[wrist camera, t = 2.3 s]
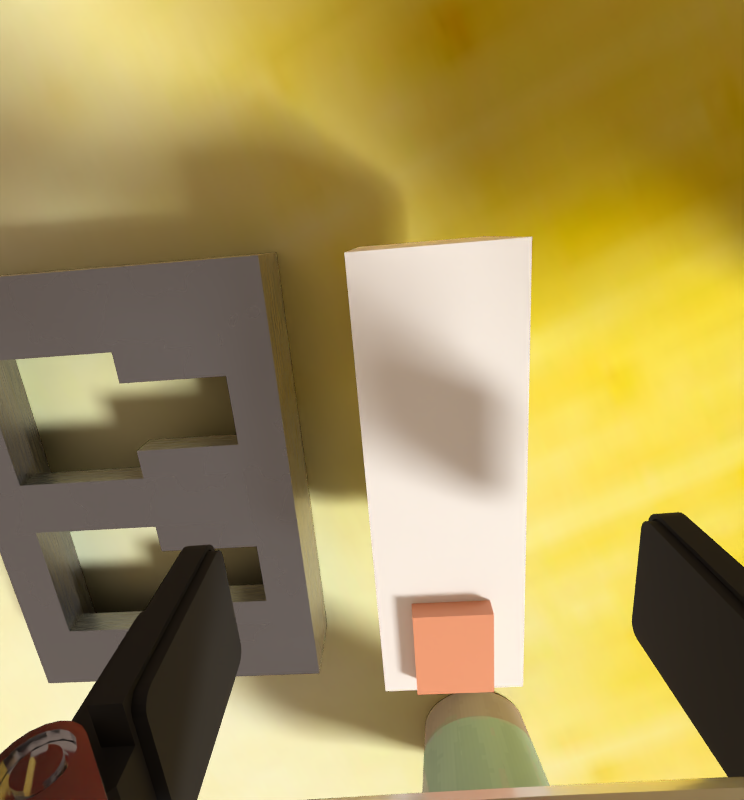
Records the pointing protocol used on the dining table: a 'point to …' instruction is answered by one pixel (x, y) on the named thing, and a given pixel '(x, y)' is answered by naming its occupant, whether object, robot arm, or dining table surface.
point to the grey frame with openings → (162, 454)
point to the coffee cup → (478, 746)
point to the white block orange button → (445, 454)
